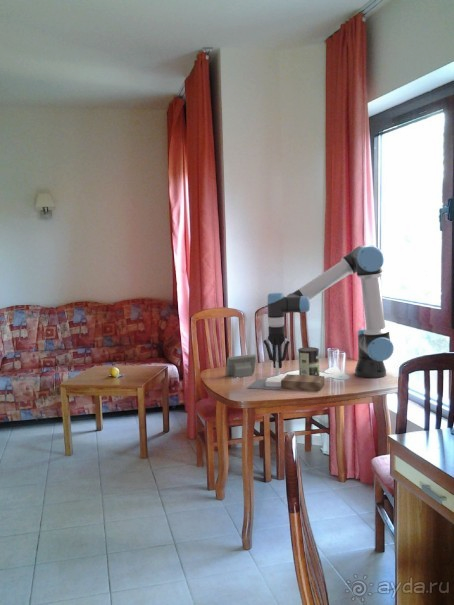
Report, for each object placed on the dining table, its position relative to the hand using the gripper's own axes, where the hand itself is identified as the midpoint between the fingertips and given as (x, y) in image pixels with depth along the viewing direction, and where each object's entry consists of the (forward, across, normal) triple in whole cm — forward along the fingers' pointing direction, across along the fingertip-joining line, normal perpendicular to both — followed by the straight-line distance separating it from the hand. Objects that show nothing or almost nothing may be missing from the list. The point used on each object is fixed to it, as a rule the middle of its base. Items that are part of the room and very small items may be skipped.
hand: (277, 374), depth 252 cm
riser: (+5, -12, 0) cm, 13 cm away
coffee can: (+5, -11, -19) cm, 23 cm away
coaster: (+5, +1, 0) cm, 5 cm away
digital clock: (+6, +24, -16) cm, 29 cm away
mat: (+5, +5, 0) cm, 7 cm away
